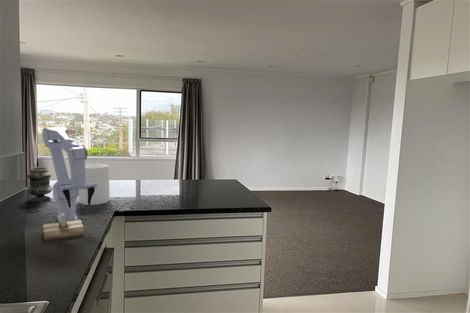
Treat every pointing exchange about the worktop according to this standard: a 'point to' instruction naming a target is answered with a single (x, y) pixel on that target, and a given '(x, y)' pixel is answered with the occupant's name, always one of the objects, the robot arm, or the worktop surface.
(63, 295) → the worktop surface
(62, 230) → the slotted tan block
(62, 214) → the silver rectangular block
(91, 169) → the canister
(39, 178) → the apothecary jar
